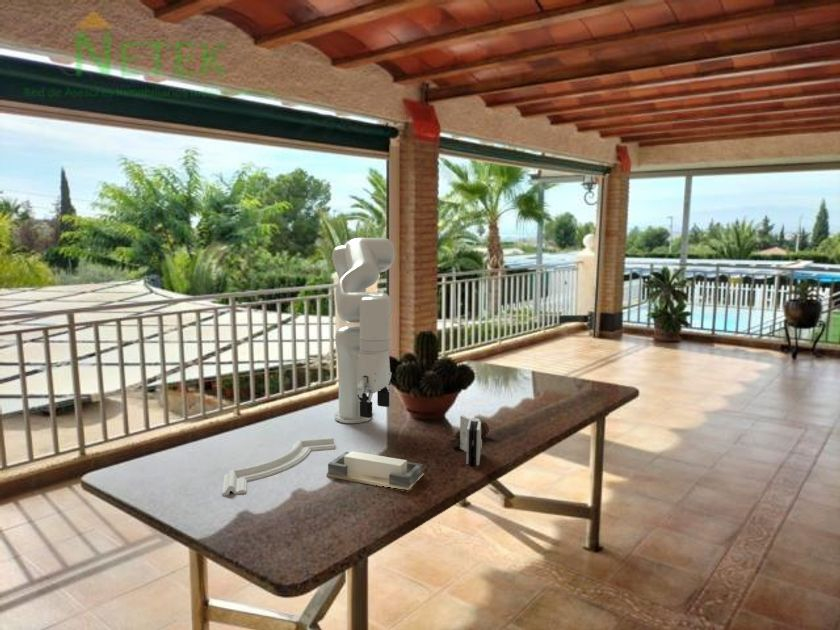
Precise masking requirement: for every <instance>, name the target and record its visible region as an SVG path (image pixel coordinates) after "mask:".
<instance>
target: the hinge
mask: <svg viewBox="0 0 840 630" xmlns="http://www.w3.org/2000/svg"><path fill="white" fill-rule="evenodd" d="M480 420H481V419H480V418H477V417H474V418H469V417H467V416H466V415H465V416H464V415H463V414H461V415H460V420H459V430H460V446H459V449H460V450H461V449H462V450H461V451H463V450H464V451H463V452H465V453H466V452H467V453H466V457H465V458H466V459H465V461H466V462H465V463H466V464H468V465H471V466H472V460H473V467H476V466H480V461H481V459H480V458H481V449H482V447H483V439H482V437H481V421H480Z"/></svg>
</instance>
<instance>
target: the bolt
mask: <svg viewBox="0 0 840 630" xmlns="http://www.w3.org/2000/svg"><path fill="white" fill-rule="evenodd" d="M480 421H481V438H482V437H484V438H486V437H487V435H488V434H489V433H490V427H489V425H488V424H487V422H486V421H485V420H482V419H480ZM449 441H450V442H449V443H450V445H451V446H452V447H454V448H458V447H460V429H459V430H457V432H456V433H455V435H454V436H452V437H451V438H450V439H449Z"/></svg>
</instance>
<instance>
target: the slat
mask: <svg viewBox="0 0 840 630" xmlns="http://www.w3.org/2000/svg"><path fill="white" fill-rule="evenodd" d="M349 452H350V453H348V454H347V455H345V456H344V465H347V472H352V473H358V474H363V475H369V476H375V477H380V478H386V479H389V474H390V473H396V474H402V475H406V474H407V462H408V460H407V459H401V458H396V457H390V456H389V457H388V456H383V455H378V454H377V455H376V454H371V453H365V452H360V451H359V452H358V451H353V450H352V451H349Z"/></svg>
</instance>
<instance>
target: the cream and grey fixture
mask: <svg viewBox="0 0 840 630" xmlns="http://www.w3.org/2000/svg"><path fill="white" fill-rule="evenodd" d="M350 452H351V451H344V452H343V453H342V454H341V455H339V456H338V457H336V458H334V459H333V460H331V461H330V462H328V463H327V473H326V477H329V478H333V479H340V480H345V481H349V482H350V481H351V482H356V483H362V484H367V485H372V486H376V485H377V487H382V486H384V487H383V488H387V487H391V488H390V489H393V488H398V489H406V490H409V489H410V488H411V487H412V486H413V485H414V484H415V483H416V482H417V481H418V480H419V479H420V478H421V477H422V476H423V475H424V476H425V473H423V465H424V464H422V463H416V462H412V461H407V474H406V475H402V474H396V473H390V474H389V479H386V478H380V477H375V476H369V475H363V474H358V473H352V472H347V465H344V456H345V455H347V454H348V453H350ZM398 489H397V490H398ZM411 489H412V488H411ZM411 489H410V490H411ZM410 490H409V491H410Z"/></svg>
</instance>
